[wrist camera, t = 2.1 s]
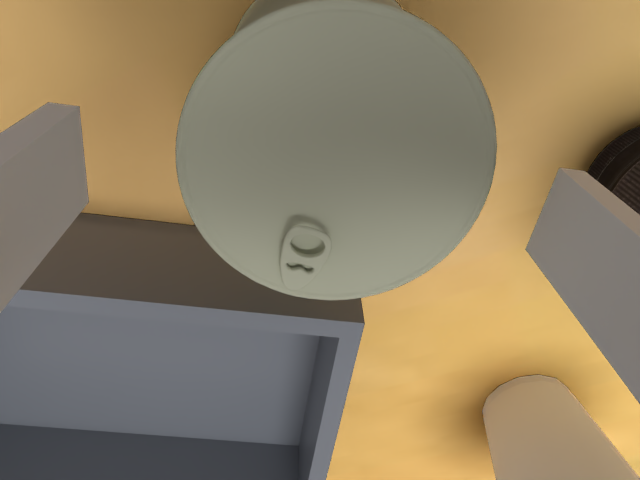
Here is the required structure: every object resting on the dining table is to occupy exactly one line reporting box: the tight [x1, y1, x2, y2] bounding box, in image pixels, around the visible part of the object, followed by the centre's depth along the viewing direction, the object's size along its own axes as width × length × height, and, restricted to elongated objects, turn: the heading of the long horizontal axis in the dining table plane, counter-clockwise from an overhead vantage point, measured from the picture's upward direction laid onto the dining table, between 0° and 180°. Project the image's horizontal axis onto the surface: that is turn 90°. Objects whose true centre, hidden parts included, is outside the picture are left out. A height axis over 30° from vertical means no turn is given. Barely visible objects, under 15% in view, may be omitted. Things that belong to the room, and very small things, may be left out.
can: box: [176, 0, 497, 300], centre depth 19 cm, size 9×9×12 cm
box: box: [0, 213, 365, 480], centre depth 29 cm, size 24×18×7 cm
